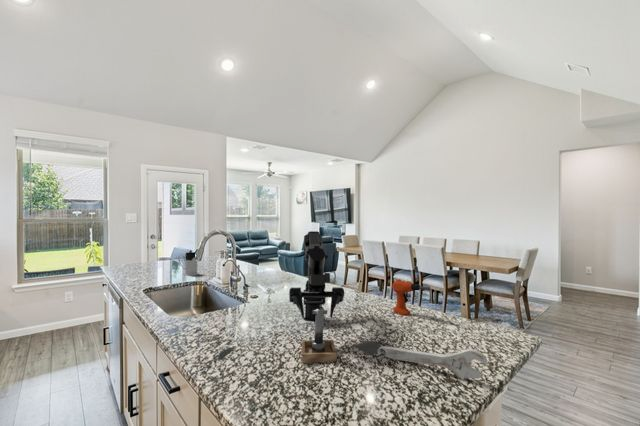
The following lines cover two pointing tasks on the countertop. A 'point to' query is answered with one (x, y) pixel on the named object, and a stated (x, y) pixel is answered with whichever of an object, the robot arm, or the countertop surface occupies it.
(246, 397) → the countertop surface
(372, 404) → the countertop surface
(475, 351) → the wrench
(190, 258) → the grey container
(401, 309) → the toy drill
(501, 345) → the countertop surface
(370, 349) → the mat
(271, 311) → the countertop surface
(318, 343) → the chuck key
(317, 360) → the tray
